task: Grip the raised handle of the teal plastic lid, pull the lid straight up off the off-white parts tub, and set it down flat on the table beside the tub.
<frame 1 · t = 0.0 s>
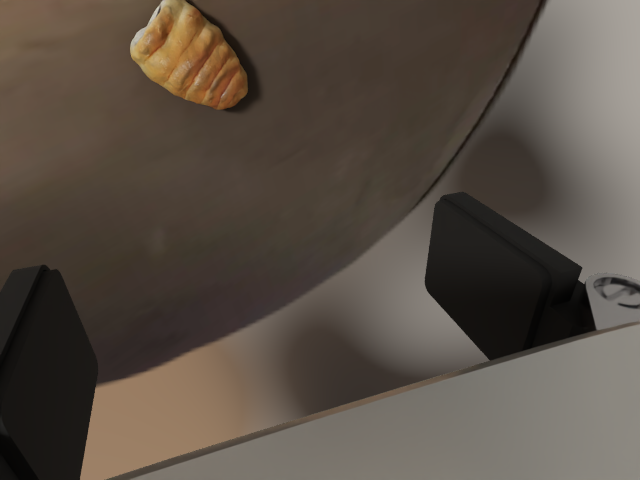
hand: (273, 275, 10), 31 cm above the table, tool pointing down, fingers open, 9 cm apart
pastry: (189, 53, 35), on the table
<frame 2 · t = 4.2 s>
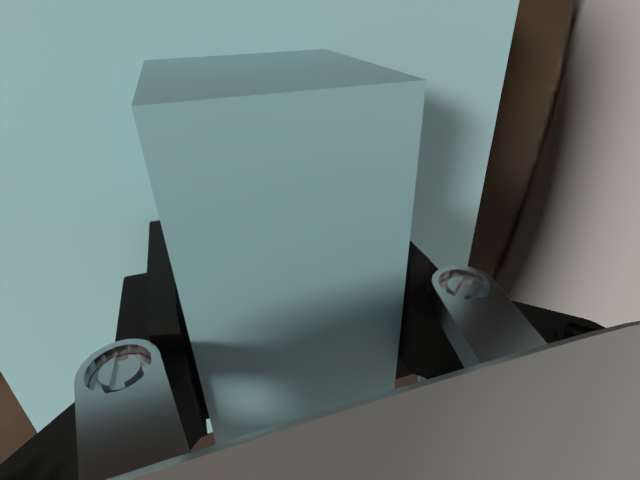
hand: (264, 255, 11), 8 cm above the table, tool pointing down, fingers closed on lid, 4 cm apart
lid: (254, 229, 12), point 7 cm above the table, touching gripper, tub
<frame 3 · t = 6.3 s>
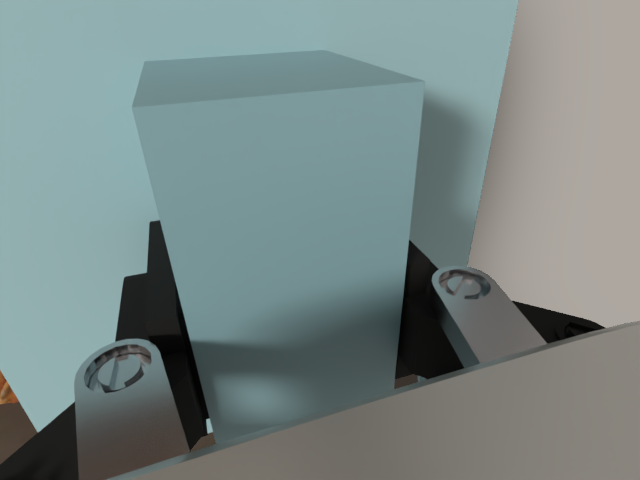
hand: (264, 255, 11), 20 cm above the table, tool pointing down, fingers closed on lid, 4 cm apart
lid: (254, 230, 13), point 19 cm above the table, touching gripper
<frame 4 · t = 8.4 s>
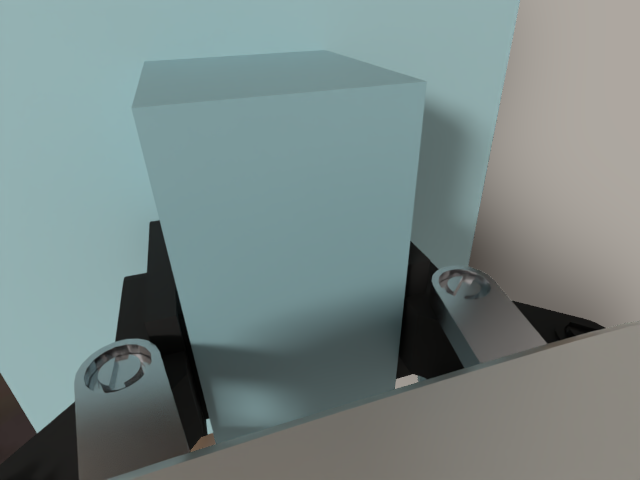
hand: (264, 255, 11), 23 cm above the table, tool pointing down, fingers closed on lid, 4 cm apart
lid: (255, 230, 12), point 22 cm above the table, touching gripper
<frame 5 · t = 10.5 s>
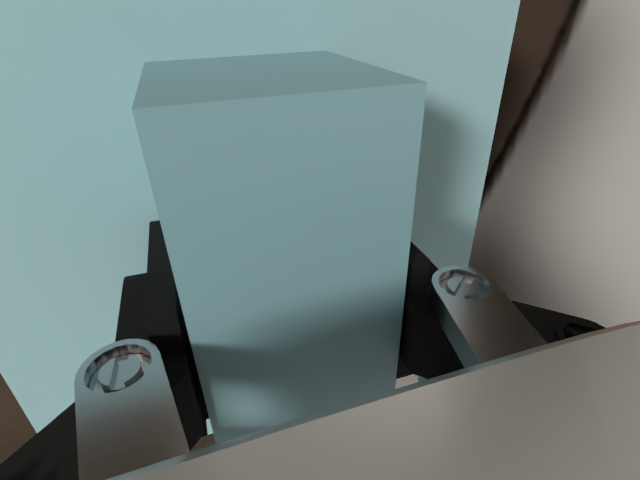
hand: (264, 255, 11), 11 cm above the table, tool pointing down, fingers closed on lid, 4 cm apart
lid: (255, 231, 12), point 9 cm above the table, touching gripper
when the fingers open (4 cm above the table, at t = 12.5 s): lid drops 2 cm, point 1 cm above the table.
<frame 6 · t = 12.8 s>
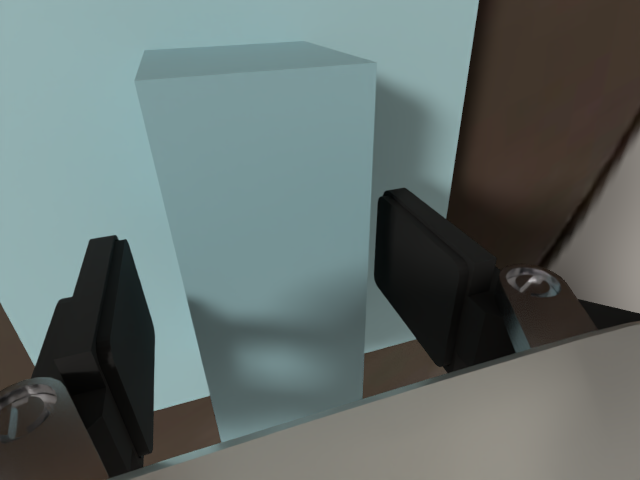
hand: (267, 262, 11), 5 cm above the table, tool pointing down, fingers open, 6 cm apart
lid: (245, 207, 14), point 1 cm above the table
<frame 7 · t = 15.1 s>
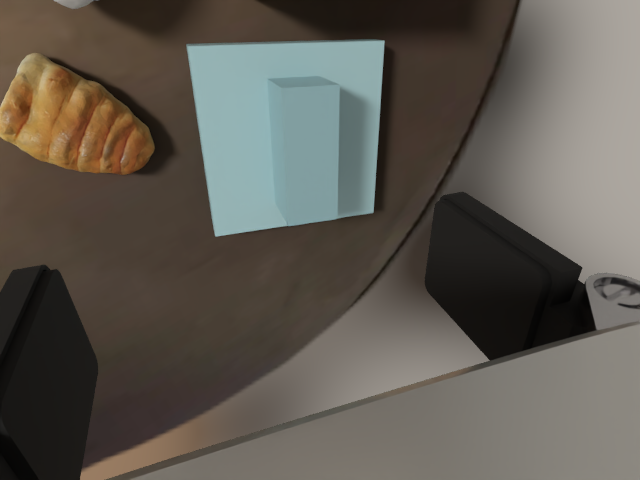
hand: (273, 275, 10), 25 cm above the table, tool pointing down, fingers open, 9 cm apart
pastry: (78, 115, 30), on the table
lid: (292, 140, 34), point 1 cm above the table
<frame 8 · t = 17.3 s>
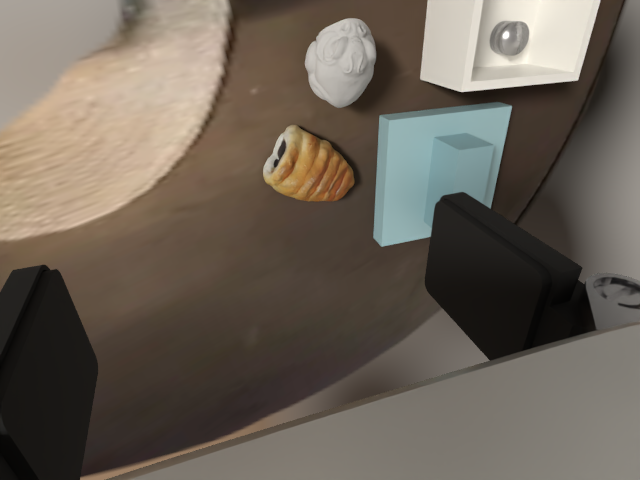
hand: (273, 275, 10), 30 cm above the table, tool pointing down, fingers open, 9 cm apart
pastry: (303, 162, 43), on the table
glossy grey ball: (502, 37, 42), point 1 cm above the table, touching tub
lid: (439, 176, 47), point 1 cm above the table
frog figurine: (325, 58, 38), on the table
tub: (485, 3, 40), on the table
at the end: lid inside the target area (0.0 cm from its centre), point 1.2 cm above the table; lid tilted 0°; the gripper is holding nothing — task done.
